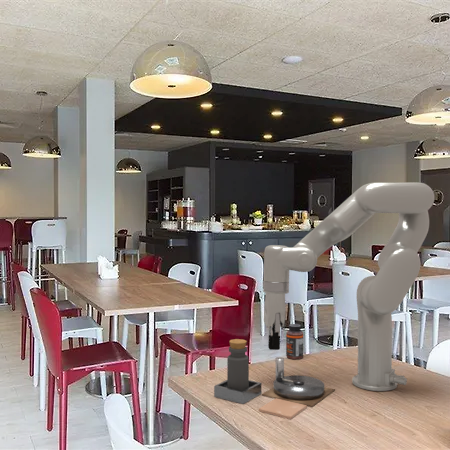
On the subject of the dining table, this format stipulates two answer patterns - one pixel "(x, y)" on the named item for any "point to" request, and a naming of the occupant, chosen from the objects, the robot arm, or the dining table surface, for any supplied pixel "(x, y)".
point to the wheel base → (308, 402)
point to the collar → (238, 392)
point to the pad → (283, 408)
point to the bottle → (238, 366)
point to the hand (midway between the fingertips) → (274, 348)
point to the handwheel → (296, 384)
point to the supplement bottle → (294, 342)
